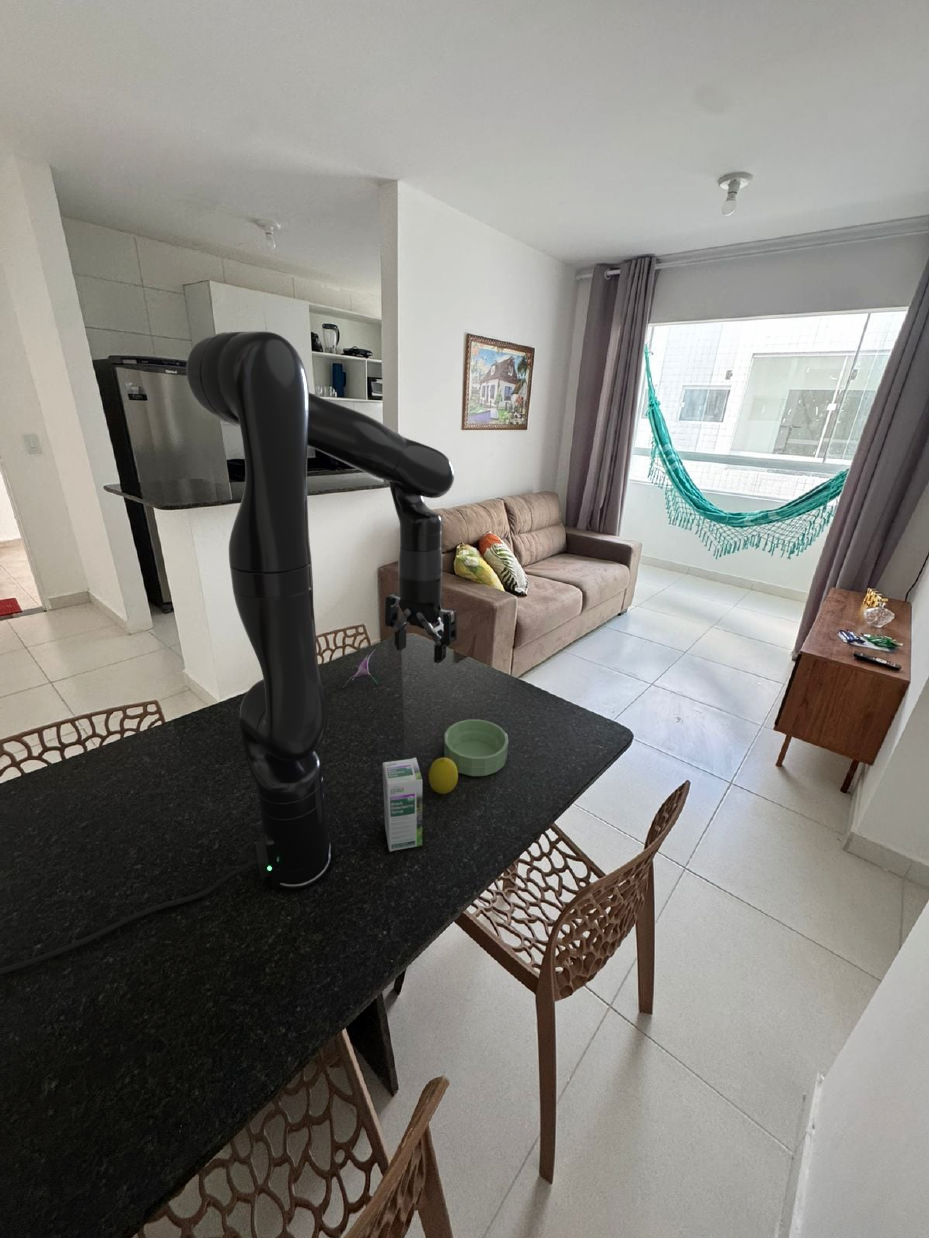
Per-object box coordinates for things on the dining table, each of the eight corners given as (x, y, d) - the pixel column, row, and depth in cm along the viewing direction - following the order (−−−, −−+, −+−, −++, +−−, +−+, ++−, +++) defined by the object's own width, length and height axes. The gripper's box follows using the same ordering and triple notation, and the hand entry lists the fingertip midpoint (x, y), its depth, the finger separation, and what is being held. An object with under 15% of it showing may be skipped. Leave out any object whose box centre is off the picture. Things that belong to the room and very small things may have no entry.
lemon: (458, 783, 101) (460, 751, 98) (455, 804, 96) (456, 770, 93) (430, 781, 101) (431, 748, 98) (426, 801, 96) (426, 767, 93)
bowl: (460, 785, 100) (461, 765, 98) (434, 746, 111) (434, 727, 109) (517, 768, 106) (519, 748, 104) (487, 732, 117) (489, 714, 115)
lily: (374, 671, 142) (356, 644, 138) (401, 670, 134) (382, 641, 130) (346, 701, 134) (325, 673, 131) (372, 702, 126) (351, 672, 123)
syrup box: (388, 852, 85) (386, 784, 79) (384, 826, 90) (382, 760, 84) (422, 846, 87) (423, 779, 81) (416, 820, 92) (416, 755, 86)
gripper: (374, 569, 88) (376, 652, 95) (442, 586, 82) (440, 674, 88) (400, 558, 94) (401, 637, 101) (467, 574, 87) (463, 657, 94)
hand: (419, 655), depth 94 cm, fingers open, 8 cm apart
